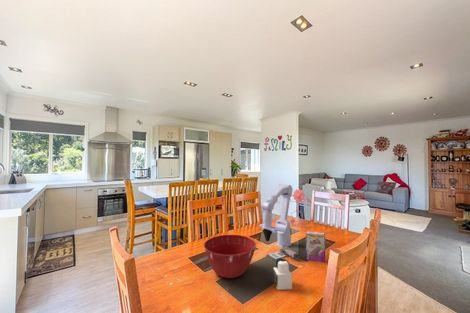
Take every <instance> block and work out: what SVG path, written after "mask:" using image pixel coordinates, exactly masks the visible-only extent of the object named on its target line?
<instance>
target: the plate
mask: <svg viewBox="0 0 470 313" xmlns="http://www.w3.org/2000/svg"><path fill="white" fill-rule="evenodd" d="M275 252H276V251H275ZM275 252H271V253H268V254H266V256H267V257H269V258H270V259H272V260H274V261H276V260H277V259H275V258H273V257H271V256H270V255H269V254H272V253H275ZM288 256H289V255H286V256H285V257H282V258H278V259H285V258H287V257H288Z"/></svg>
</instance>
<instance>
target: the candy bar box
mask: <svg viewBox="0 0 470 313" xmlns="http://www.w3.org/2000/svg"><path fill="white" fill-rule="evenodd" d="M305 260H306V261H313V262H320V263H324V262H325V263H326V233H324V232H318V231H317V232H315V231H305Z"/></svg>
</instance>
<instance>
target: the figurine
mask: <svg viewBox="0 0 470 313" xmlns="http://www.w3.org/2000/svg"><path fill="white" fill-rule="evenodd" d="M291 197H293V200H292V199H291V198H290V202H291V203H293V202H294V203H297V204H298V206H297V208H296V209H295V210H294V211H293V212H291V214H293V213H294V212H298V213H300V214H302V217H301V219H303V213H302V212H301V211H300V210H299V206H300V205H302V204H303V203H304V202H305V200H306V201H307V202H308V203H310V204H312V201H311V200H310V199H309V197H306V194H305V193H304V190H302V189H297V188H296V189H295V190H294V191H293V193H292V196H291ZM294 222H295V219H294V218H293V216H291V220H290V224H292V223H293V224H295V223H296V222H295V223H294ZM305 224H306V223H305V222H304V221H303V220H300V227H302V226H304V225H305ZM305 226H306V225H305Z"/></svg>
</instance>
